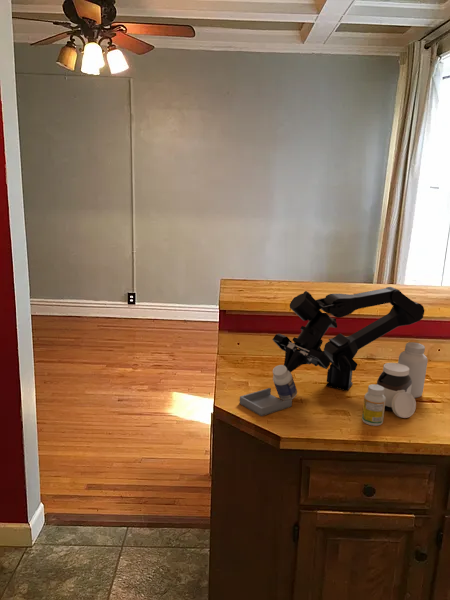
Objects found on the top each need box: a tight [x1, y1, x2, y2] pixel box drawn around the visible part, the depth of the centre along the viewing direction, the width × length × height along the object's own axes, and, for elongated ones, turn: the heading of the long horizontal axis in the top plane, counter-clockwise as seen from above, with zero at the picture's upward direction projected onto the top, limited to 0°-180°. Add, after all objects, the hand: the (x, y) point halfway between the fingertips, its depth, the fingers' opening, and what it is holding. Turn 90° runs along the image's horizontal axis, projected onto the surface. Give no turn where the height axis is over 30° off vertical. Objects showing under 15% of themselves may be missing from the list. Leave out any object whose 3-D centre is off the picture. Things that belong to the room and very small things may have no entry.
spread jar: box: [376, 362, 417, 419], centre depth 147 cm, size 12×11×12 cm
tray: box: [239, 387, 293, 417], centre depth 147 cm, size 11×9×2 cm
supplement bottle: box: [361, 383, 386, 427], centre depth 139 cm, size 5×5×10 cm
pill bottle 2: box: [397, 341, 429, 399], centre depth 158 cm, size 8×8×15 cm
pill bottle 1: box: [272, 364, 298, 401], centre depth 149 cm, size 5×5×10 cm
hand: (284, 374), depth 152 cm, fingers closed
